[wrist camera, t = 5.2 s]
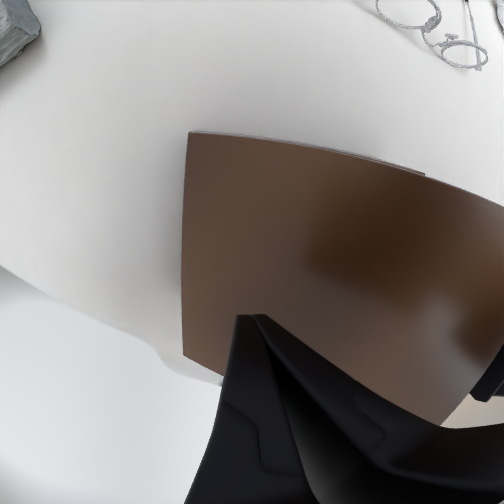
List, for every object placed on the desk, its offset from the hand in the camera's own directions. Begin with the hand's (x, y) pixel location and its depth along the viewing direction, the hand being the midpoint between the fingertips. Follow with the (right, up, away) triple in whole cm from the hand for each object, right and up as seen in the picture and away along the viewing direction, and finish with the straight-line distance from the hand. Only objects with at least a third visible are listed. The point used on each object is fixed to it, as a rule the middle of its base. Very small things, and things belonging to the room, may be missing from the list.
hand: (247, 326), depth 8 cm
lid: (+4, 0, +3) cm, 4 cm away
